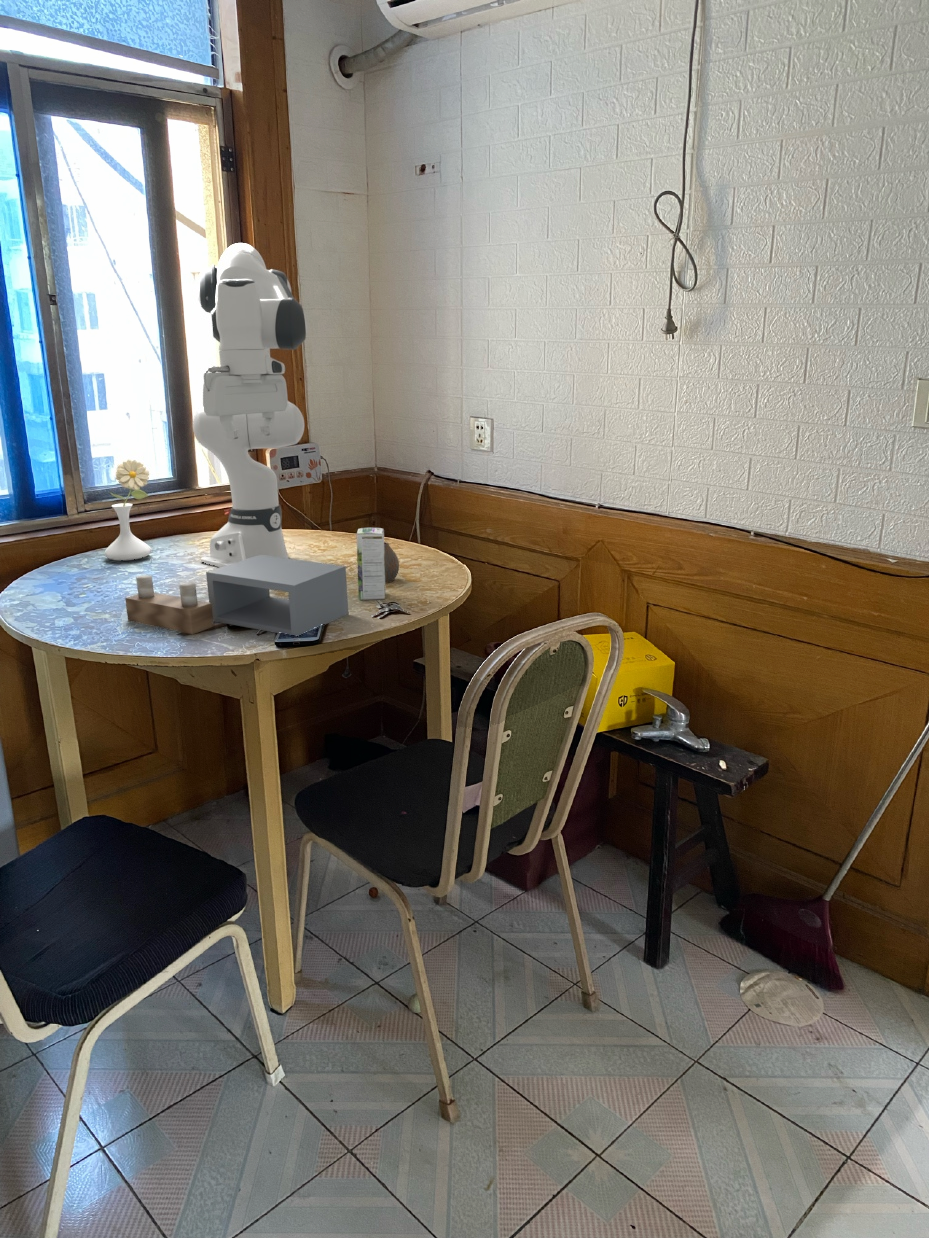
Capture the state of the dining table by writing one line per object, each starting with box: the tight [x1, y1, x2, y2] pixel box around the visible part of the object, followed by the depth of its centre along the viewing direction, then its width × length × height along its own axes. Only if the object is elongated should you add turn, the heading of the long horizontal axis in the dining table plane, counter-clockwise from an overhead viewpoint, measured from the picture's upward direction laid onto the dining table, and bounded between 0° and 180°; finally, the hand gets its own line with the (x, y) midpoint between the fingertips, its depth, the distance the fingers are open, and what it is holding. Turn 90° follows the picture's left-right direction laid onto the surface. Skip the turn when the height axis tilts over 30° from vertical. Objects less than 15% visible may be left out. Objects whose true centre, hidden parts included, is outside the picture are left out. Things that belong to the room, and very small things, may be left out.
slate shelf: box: [205, 555, 349, 637], centre depth 182 cm, size 22×16×10 cm
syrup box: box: [356, 527, 386, 601], centre depth 195 cm, size 6×6×14 cm
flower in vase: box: [103, 459, 152, 561], centre depth 230 cm, size 13×11×25 cm
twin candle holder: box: [124, 574, 215, 635], centre depth 180 cm, size 18×6×9 cm, turn 60°
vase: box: [384, 541, 400, 583], centre depth 208 cm, size 7×7×9 cm
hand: (249, 437), depth 183 cm, fingers open, 8 cm apart
